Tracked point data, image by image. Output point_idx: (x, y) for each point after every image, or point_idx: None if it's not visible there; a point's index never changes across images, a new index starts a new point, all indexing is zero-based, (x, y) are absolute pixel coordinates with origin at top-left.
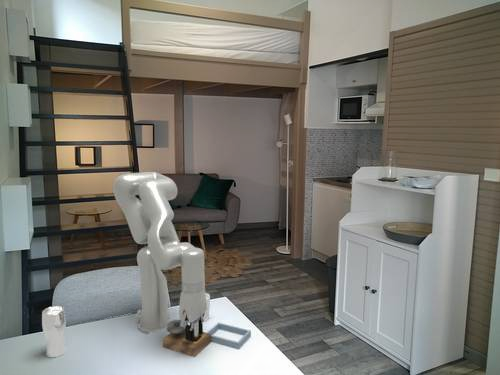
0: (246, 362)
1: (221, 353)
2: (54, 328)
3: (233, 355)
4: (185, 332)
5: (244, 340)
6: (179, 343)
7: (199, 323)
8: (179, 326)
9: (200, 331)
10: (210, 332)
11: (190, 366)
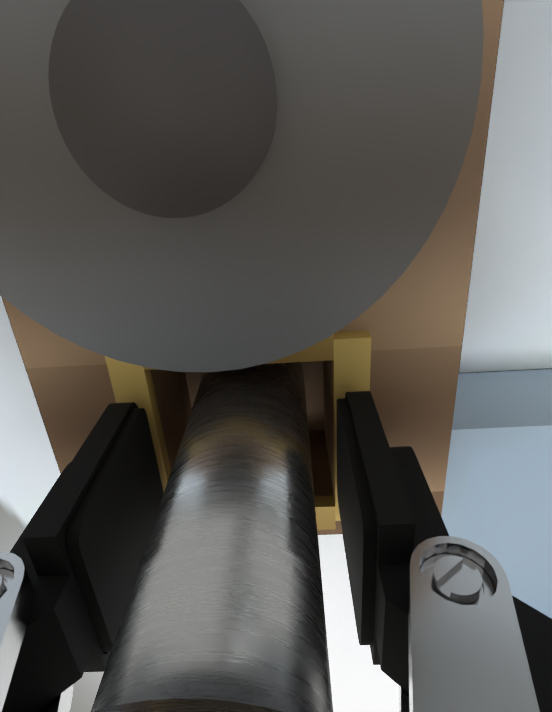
0: None
1: (323, 563)
2: None
3: (341, 627)
4: (64, 474)
5: None
6: (27, 346)
7: (370, 621)
8: (133, 241)
9: (343, 516)
10: (535, 437)
11: (36, 475)
